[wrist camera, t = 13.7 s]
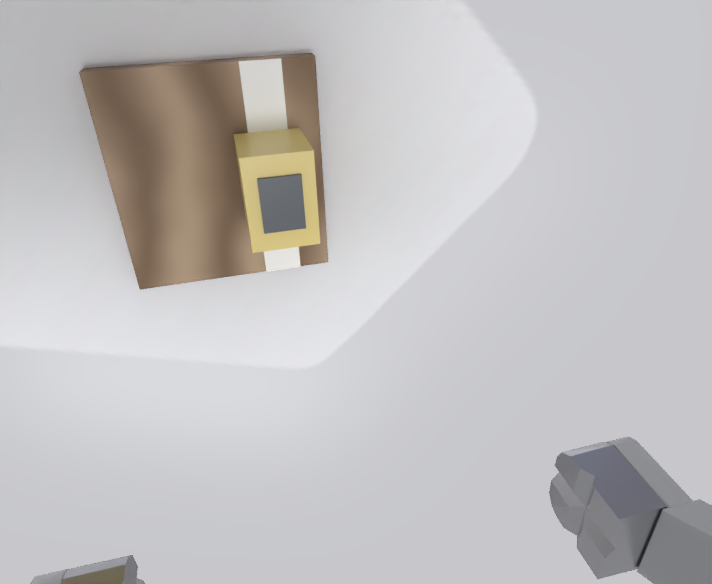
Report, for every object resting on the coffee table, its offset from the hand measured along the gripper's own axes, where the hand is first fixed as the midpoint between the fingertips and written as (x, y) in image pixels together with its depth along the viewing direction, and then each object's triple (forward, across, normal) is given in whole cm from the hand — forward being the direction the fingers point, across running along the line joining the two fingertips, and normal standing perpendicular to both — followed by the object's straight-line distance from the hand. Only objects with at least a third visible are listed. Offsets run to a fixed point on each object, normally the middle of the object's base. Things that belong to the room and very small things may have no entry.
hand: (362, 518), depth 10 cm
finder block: (+35, -2, +5) cm, 36 cm away
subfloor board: (+37, +2, +5) cm, 38 cm away
